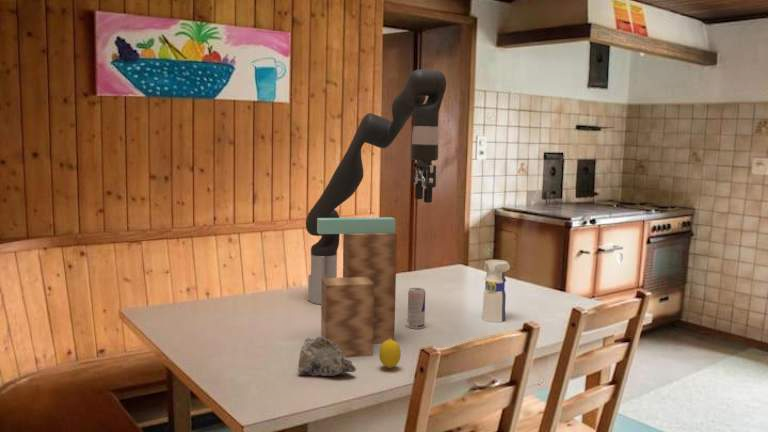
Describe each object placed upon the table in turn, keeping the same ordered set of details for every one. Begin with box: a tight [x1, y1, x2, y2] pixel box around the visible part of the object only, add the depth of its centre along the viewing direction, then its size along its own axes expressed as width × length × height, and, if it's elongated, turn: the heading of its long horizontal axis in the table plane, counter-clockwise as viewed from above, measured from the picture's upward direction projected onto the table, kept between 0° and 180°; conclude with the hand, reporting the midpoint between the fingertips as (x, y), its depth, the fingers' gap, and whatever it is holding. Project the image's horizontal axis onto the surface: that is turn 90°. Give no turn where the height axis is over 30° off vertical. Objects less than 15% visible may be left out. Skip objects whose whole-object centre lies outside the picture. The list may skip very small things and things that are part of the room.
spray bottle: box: [481, 245, 511, 323], centre depth 216 cm, size 8×9×25 cm
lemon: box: [378, 339, 402, 370], centre depth 170 cm, size 6×6×8 cm
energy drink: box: [406, 287, 426, 330], centre depth 206 cm, size 5×5×12 cm
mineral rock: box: [297, 335, 357, 377], centre depth 164 cm, size 13×11×10 cm
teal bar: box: [317, 216, 396, 235], centre depth 188 cm, size 22×4×4 cm, turn 103°
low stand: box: [320, 276, 374, 358], centre depth 181 cm, size 13×9×20 cm
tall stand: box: [342, 232, 398, 345], centre depth 191 cm, size 14×8×32 cm, turn 103°
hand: (423, 200), depth 185 cm, fingers open, 8 cm apart
